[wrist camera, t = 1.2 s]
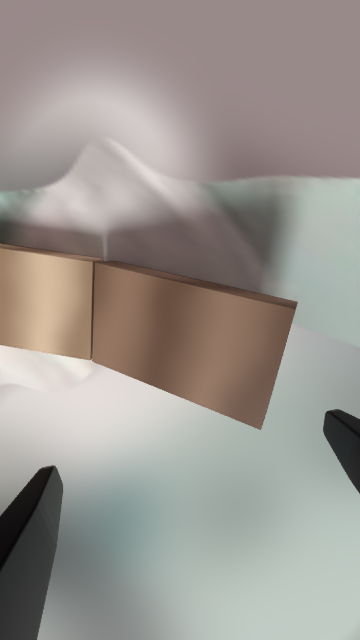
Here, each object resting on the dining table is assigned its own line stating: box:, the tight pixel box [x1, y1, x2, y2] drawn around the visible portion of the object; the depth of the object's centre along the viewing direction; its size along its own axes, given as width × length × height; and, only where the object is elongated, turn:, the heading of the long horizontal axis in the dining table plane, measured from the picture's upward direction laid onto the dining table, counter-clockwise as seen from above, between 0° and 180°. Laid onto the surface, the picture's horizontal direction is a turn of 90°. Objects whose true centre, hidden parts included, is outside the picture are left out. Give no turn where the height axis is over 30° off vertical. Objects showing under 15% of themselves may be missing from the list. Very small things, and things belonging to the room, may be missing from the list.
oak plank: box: [0, 243, 103, 360], centre depth 20 cm, size 12×7×2 cm, turn 83°
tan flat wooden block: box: [92, 261, 298, 430], centre depth 17 cm, size 12×7×2 cm, turn 84°
